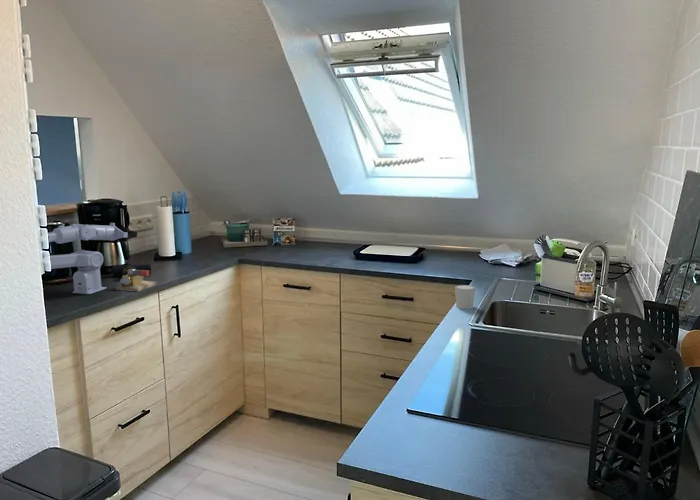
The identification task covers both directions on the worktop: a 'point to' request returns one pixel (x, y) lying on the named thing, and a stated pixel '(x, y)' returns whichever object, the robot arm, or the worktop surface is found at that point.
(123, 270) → the pipe connector
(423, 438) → the worktop surface
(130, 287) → the board
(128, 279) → the valve body
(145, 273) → the lever
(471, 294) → the light grey cylinder
